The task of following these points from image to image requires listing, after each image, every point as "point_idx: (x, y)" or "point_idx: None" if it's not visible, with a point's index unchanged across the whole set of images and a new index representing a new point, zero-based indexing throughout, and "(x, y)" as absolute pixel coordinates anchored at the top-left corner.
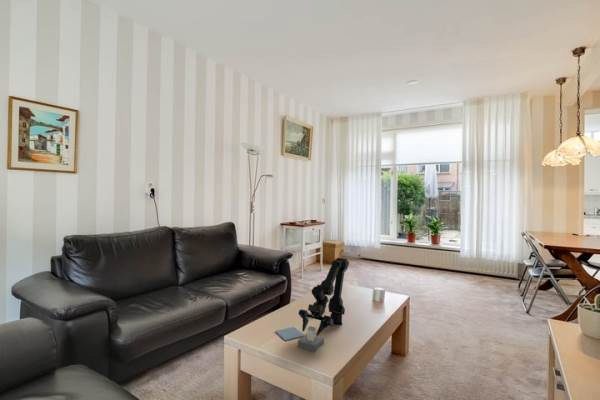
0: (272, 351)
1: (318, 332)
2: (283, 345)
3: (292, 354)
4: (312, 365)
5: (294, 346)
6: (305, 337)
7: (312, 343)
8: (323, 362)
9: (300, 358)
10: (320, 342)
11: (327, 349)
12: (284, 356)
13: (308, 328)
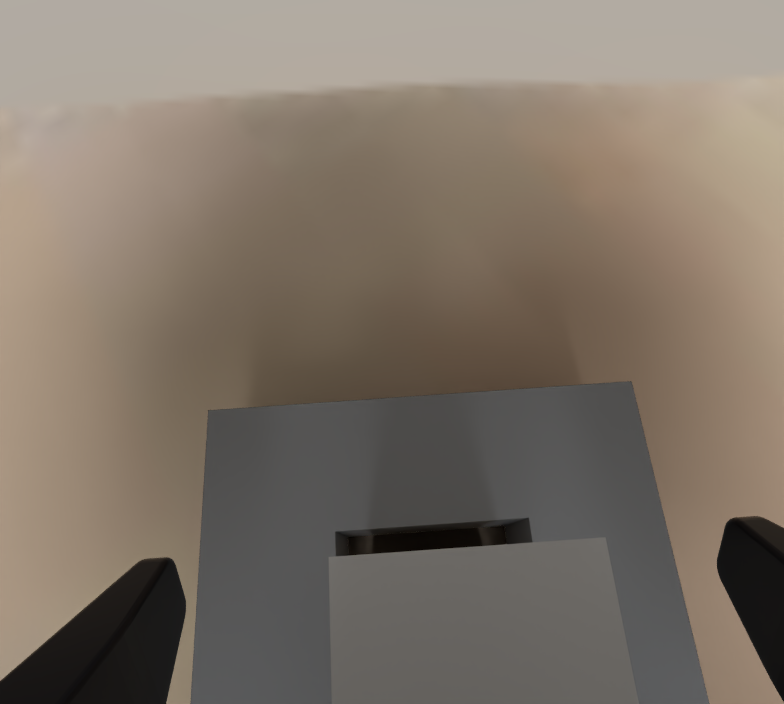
0: (741, 107)
1: (69, 622)
2: (780, 304)
3: (489, 194)
4: (131, 149)
5: None
6: None
7: (310, 476)
8: (19, 277)
9: (341, 181)
10: (201, 700)
11: None
12: (536, 108)
13: (554, 553)
